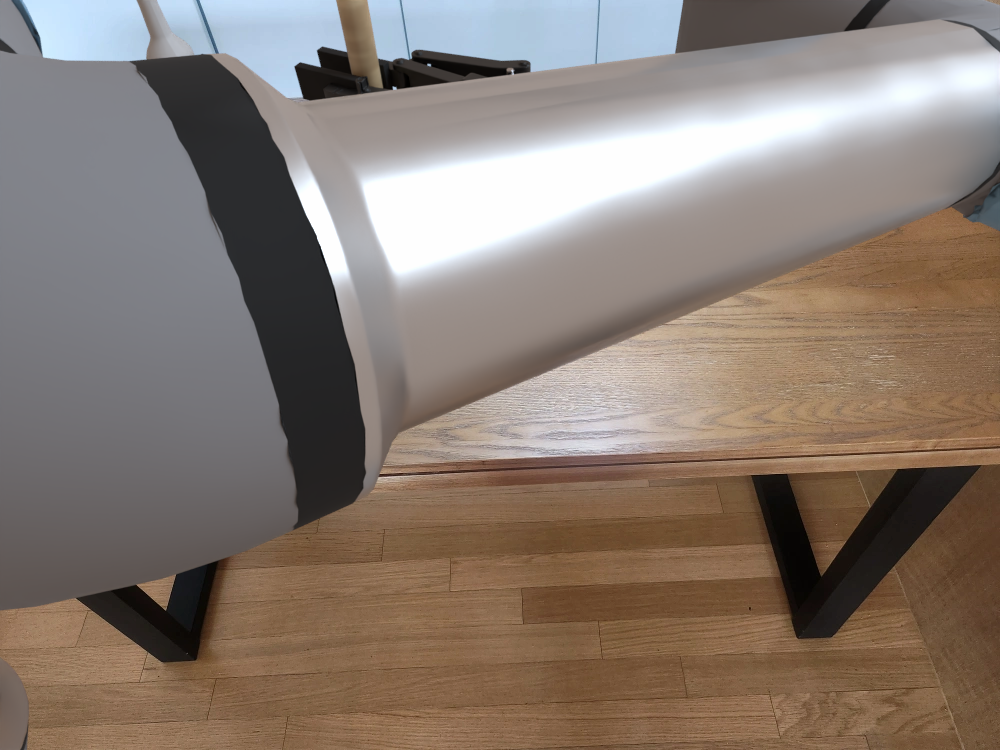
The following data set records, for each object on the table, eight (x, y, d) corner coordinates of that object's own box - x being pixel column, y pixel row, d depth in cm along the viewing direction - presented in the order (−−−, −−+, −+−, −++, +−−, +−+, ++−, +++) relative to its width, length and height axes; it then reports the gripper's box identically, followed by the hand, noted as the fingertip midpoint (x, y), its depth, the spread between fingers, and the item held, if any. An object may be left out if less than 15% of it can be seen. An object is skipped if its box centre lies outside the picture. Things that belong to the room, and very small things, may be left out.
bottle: (183, 152, 107) (94, -41, 86) (219, 136, 110) (143, -55, 88) (201, 169, 104) (114, -27, 82) (239, 151, 107) (164, -42, 85)
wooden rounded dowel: (400, 303, 65) (280, -251, 34) (365, 274, 68) (225, -262, 37) (446, 274, 68) (374, -268, 37) (411, 247, 71) (315, -277, 40)
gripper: (531, 242, 46) (266, 161, 53) (612, 131, 54) (373, 75, 61) (531, 144, 40) (233, 69, 47) (622, 37, 48) (357, -13, 56)
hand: (313, 72), depth 54 cm, fingers closed on wooden rounded dowel, 2 cm apart
